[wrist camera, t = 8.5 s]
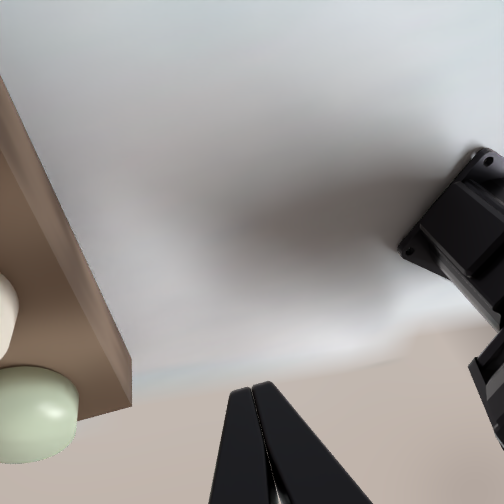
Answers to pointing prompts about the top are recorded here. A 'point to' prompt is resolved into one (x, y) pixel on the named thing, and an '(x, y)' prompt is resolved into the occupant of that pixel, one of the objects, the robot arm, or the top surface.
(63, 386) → the button sage
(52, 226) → the console
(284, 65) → the top surface
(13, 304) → the button cream
